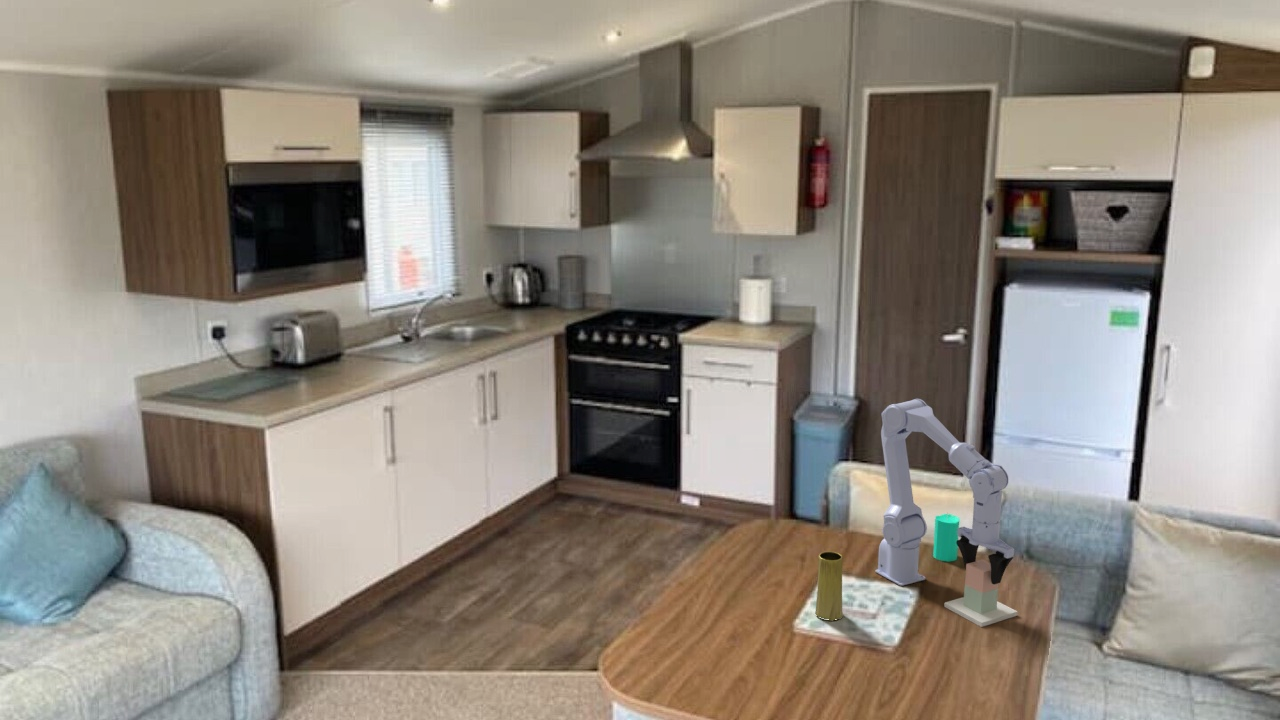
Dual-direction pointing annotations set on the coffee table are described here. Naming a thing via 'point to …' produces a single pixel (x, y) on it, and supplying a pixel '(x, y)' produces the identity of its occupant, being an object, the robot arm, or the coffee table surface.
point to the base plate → (981, 619)
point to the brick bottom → (980, 600)
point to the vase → (829, 586)
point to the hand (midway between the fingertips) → (982, 576)
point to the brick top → (979, 576)
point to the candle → (946, 537)
